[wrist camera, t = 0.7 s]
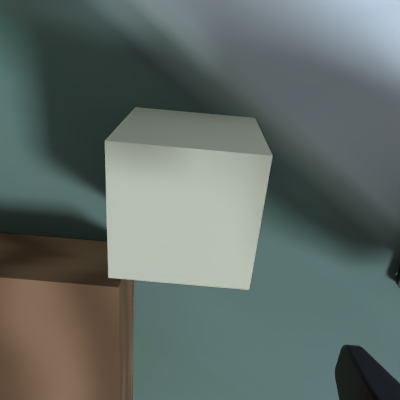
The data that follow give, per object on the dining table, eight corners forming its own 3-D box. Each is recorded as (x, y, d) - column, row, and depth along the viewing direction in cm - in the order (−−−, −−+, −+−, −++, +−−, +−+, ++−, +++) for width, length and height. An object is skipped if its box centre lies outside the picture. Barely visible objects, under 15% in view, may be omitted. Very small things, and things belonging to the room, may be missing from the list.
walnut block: (134, 243, 22) (118, 287, 18) (132, 402, 28) (120, 458, 24) (-106, 223, 22) (-169, 263, 18) (-55, 387, 28) (-95, 441, 24)
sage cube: (254, 117, 19) (272, 155, 13) (239, 222, 21) (249, 289, 16) (135, 106, 19) (104, 140, 13) (134, 212, 21) (108, 277, 16)
